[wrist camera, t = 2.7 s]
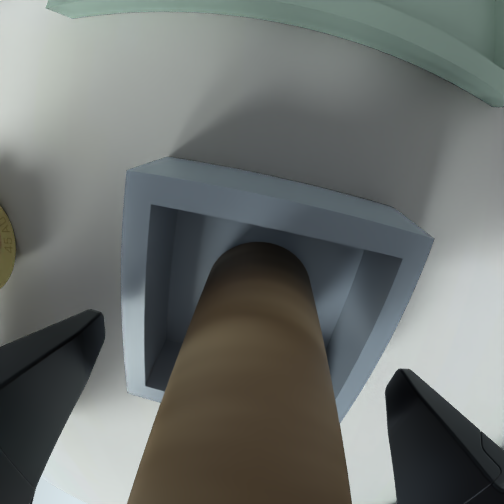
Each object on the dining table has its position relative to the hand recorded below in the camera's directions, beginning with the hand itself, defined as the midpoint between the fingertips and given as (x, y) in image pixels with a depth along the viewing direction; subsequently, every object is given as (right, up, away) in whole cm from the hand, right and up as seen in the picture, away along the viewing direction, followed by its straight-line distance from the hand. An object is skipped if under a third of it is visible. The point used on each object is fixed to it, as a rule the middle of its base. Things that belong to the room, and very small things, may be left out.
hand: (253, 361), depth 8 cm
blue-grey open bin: (0, +2, +4) cm, 4 cm away
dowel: (0, +2, +4) cm, 4 cm away
